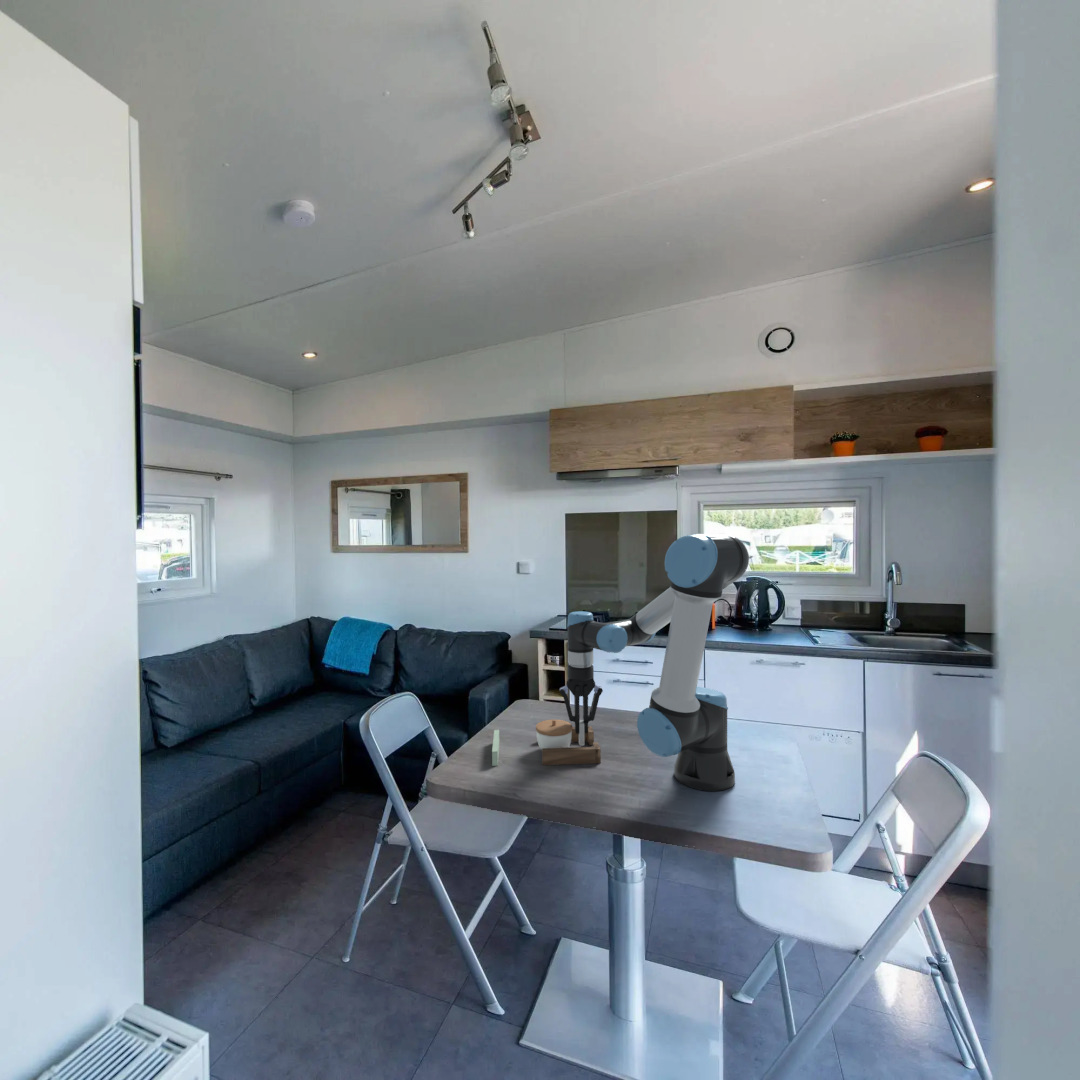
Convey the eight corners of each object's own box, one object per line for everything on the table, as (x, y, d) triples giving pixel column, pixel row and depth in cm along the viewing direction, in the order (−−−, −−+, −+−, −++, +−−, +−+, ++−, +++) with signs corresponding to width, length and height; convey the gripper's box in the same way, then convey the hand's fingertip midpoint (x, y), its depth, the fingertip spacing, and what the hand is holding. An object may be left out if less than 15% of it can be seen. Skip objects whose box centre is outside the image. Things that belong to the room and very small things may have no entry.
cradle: (600, 763, 145) (600, 748, 145) (542, 765, 144) (542, 750, 144) (591, 739, 162) (591, 726, 162) (539, 740, 161) (539, 727, 161)
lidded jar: (547, 741, 160) (547, 711, 160) (578, 749, 154) (578, 717, 154) (529, 754, 151) (528, 722, 151) (561, 762, 145) (561, 729, 145)
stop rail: (497, 765, 144) (497, 751, 144) (492, 765, 144) (492, 751, 144) (499, 742, 160) (499, 729, 160) (494, 742, 160) (494, 729, 160)
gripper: (600, 660, 157) (601, 738, 157) (557, 661, 156) (558, 739, 157) (604, 667, 149) (605, 748, 150) (559, 668, 149) (560, 749, 149)
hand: (581, 743), depth 153 cm, fingers closed
